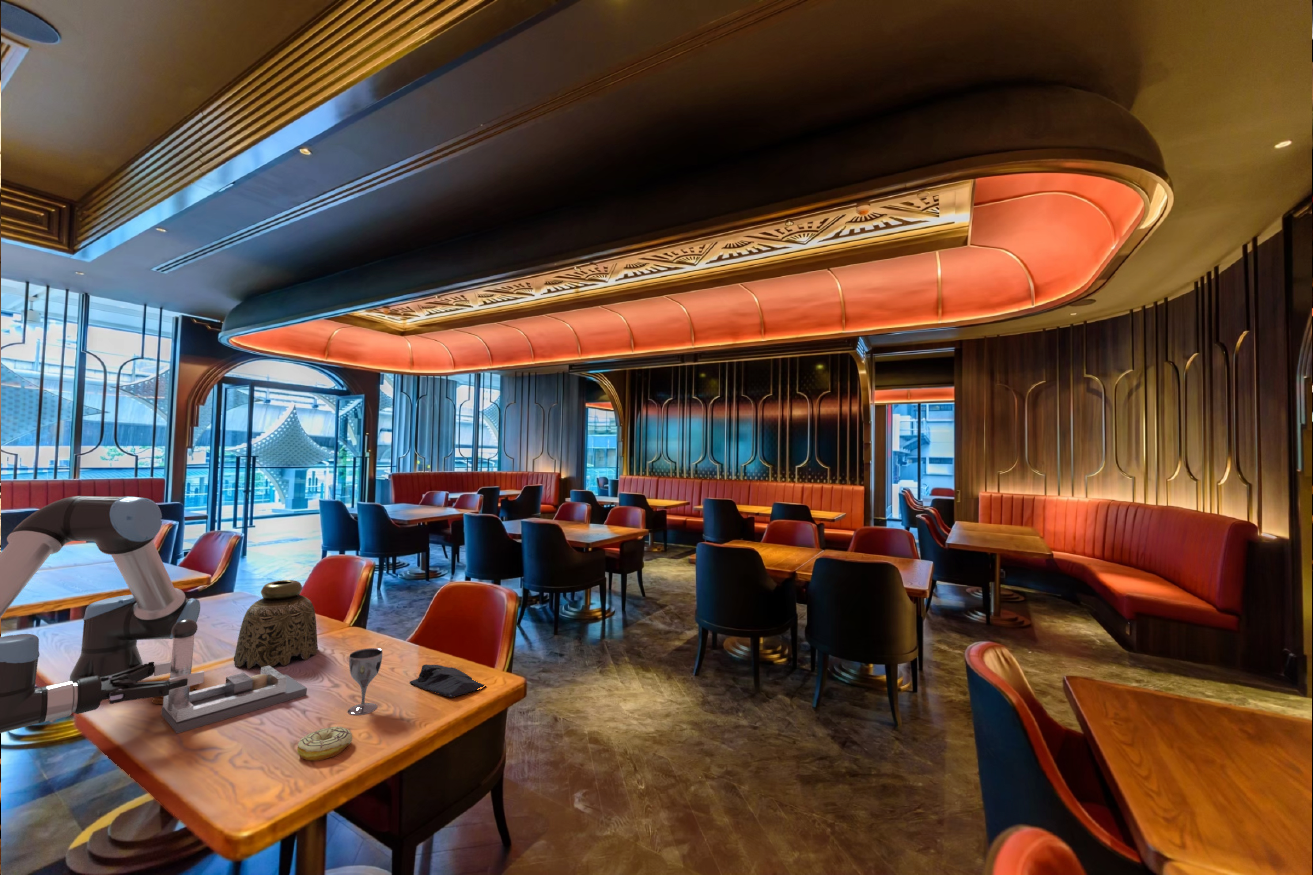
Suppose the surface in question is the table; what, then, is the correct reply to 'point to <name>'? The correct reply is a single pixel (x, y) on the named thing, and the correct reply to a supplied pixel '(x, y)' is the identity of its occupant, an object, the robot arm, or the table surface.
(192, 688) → the burger
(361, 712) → the wine glass
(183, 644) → the press ram
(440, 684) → the black crumpled cloth
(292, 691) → the press bench
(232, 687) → the grey rectangular block
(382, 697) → the table surface
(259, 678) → the nut
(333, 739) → the decorated donut
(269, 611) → the lamp shade
